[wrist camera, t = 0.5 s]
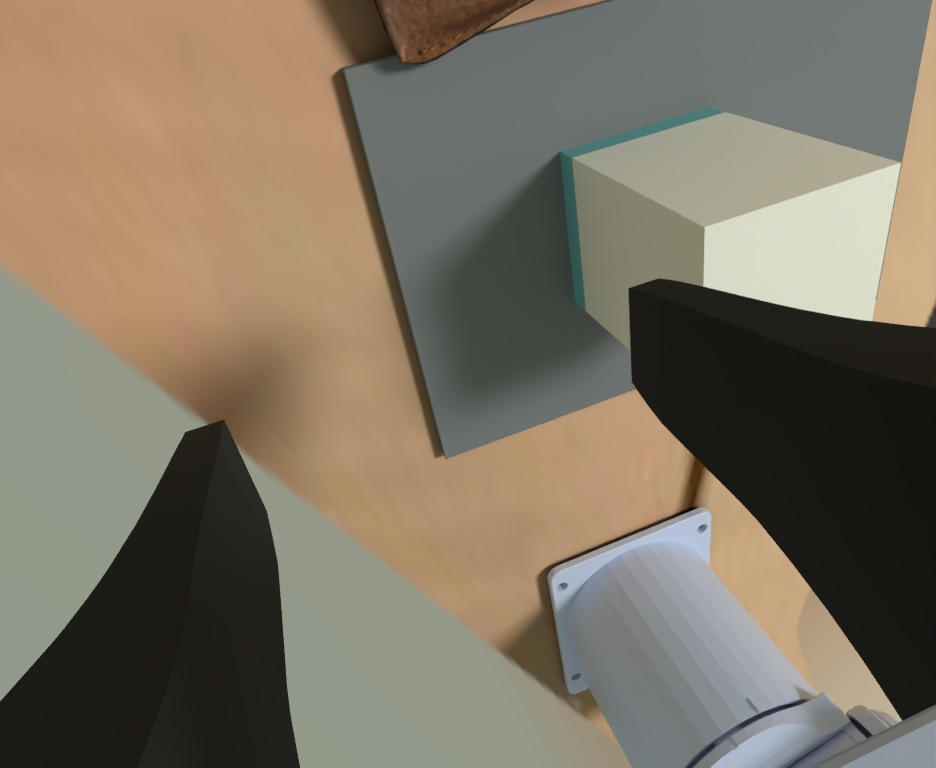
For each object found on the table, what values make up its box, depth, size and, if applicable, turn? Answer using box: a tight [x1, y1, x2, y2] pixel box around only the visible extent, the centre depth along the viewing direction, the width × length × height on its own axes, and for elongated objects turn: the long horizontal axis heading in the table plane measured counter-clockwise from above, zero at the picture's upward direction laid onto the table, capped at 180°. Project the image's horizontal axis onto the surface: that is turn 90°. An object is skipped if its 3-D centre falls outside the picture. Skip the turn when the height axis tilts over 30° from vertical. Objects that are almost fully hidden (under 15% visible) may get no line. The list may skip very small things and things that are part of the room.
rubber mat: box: [342, 0, 932, 459], centre depth 23 cm, size 13×18×1 cm
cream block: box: [560, 107, 901, 351], centre depth 19 cm, size 5×5×7 cm
